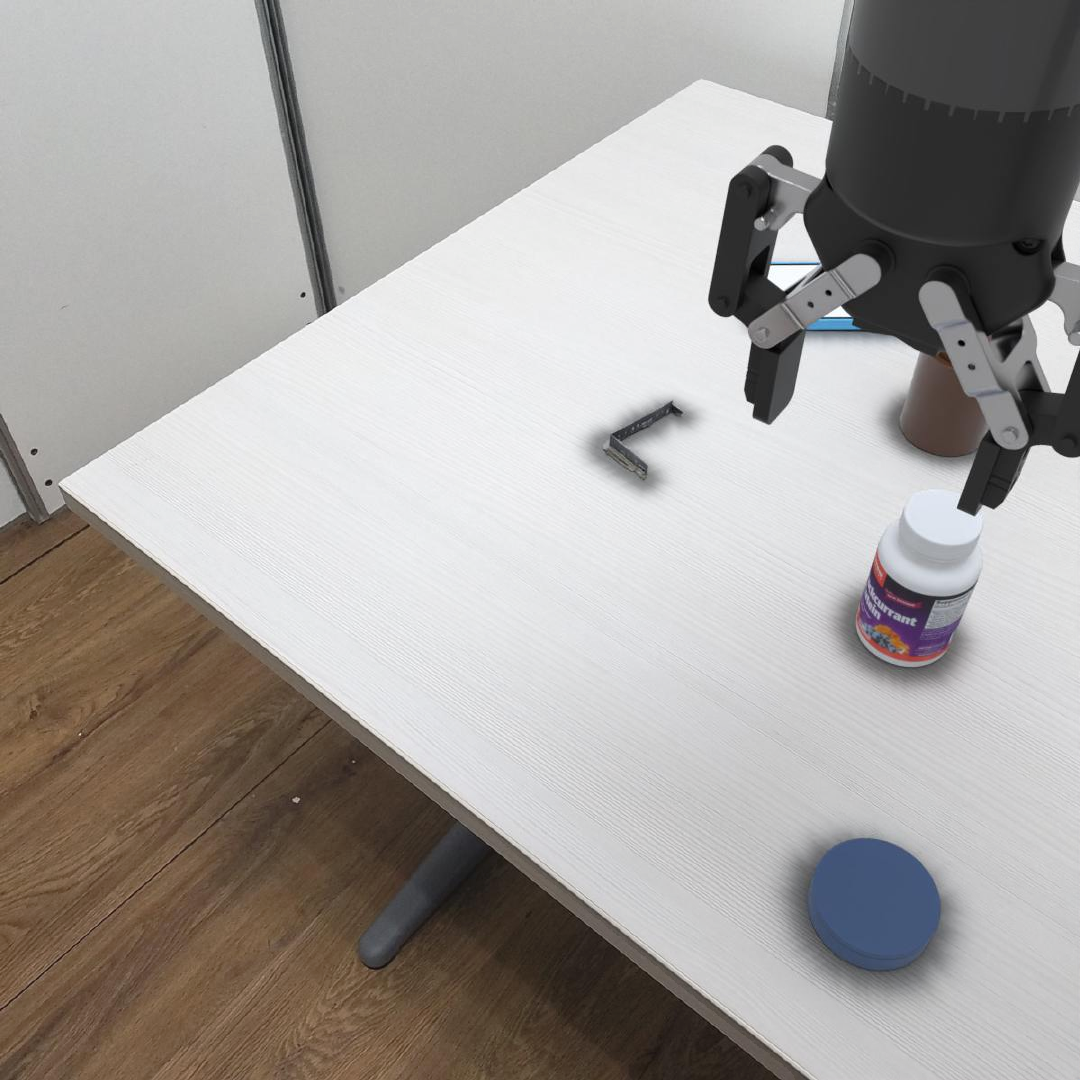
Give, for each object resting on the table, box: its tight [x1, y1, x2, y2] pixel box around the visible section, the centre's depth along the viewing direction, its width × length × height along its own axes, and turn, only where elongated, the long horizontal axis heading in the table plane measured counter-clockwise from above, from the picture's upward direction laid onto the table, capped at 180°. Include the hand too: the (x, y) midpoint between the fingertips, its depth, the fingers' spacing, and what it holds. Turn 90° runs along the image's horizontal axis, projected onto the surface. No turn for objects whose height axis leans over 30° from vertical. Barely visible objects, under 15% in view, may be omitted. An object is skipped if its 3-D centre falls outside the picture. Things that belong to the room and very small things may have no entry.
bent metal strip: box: [602, 399, 684, 480], centre depth 77 cm, size 7×1×5 cm
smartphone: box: [767, 261, 862, 331], centre depth 87 cm, size 8×1×15 cm
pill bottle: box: [855, 488, 984, 668], centre depth 62 cm, size 5×5×10 cm
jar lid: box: [807, 837, 942, 972], centre depth 54 cm, size 6×6×2 cm
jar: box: [899, 336, 990, 457], centre depth 75 cm, size 6×6×8 cm
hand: (869, 454), depth 45 cm, fingers open, 8 cm apart
